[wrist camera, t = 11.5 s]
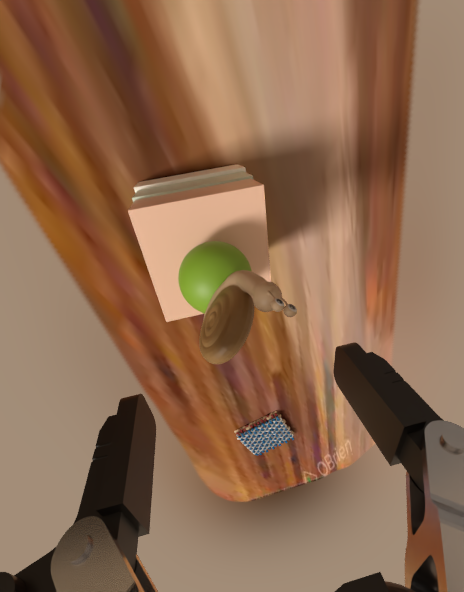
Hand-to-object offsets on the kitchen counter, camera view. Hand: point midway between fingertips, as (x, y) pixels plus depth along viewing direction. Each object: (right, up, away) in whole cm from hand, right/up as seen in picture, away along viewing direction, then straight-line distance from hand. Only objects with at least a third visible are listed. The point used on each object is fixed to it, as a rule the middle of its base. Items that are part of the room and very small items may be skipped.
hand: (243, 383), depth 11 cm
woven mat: (+6, -25, +46) cm, 53 cm away
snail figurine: (-2, +7, +11) cm, 13 cm away
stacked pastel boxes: (-4, +12, +21) cm, 25 cm away
